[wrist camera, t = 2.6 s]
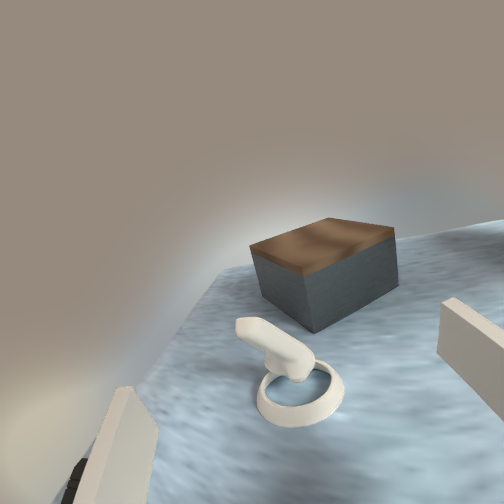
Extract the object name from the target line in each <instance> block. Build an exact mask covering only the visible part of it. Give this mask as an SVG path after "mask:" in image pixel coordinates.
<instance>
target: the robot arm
mask: <svg viewBox="0 0 504 504" xmlns="http://www.w3.org/2000/svg"><path fill="white" fill-rule="evenodd" d="M437 354H438V355H439V356H440V357H441V358H442V359H443V360H444V361H445V362H446V363H447V364H448V365H449V366H450V367H451V368H452V369H453V370H454V371H455V372H456V373H457V374H458V375H459V376H460V377H461V378H462V379H463V380H464V381H465V382H466V383H467V384H468V385H469V386H470V387H471V388H472V389H473V390H474V391H475V392H476V393H477V394H478V395H479V396H480V397H481V398H482V399H483V400H484V401H485V402H486V403H487V405H488V406H489V407H490V408H491V409H492V410H493V411H494V412H495V413H496V414H497V415H498V416H499V417H500V418H501V420H502V421H503V422H504V331H503V330H502V329H500V328H499V327H498V326H496V325H495V324H493V323H492V322H490V321H489V320H488V319H486V318H485V317H483V316H482V315H480V314H479V313H477V312H476V311H474V310H473V309H471V308H470V307H468V306H467V305H465V304H464V303H462V302H461V301H459V300H458V299H456V298H454V297H453V298H451V299H448V300H446V301H444V302H442V303H441V315H440V327H439V337H438V346H437ZM159 430H160V429H159V427H158V426H157V424H156V423H155V421H154V420H153V418H152V417H151V415H150V414H149V412H148V410H147V409H146V407H145V405H144V404H143V402H142V401H141V399H140V397H139V396H138V394H137V392H136V390H135V389H134V387H133V386H125V387H117V389H116V391H115V393H114V396H113V398H112V401H111V403H110V406H109V408H108V410H107V413H106V415H105V417H104V420H103V422H102V425H101V427H100V430H99V432H98V435H97V437H96V440H95V442H94V445H93V448H92V450H91V453H90V456H89V458H88V459H86V458H82V459H81V460H80V461H79V462H78V463H77V465H76V466H75V467H74V469H73V472H72V474H71V477H70V479H71V480H69V482H68V485H67V489H66V490H65V493H64V496H63V499H62V502H61V504H146V501H147V494H148V489H149V483H150V477H151V471H152V466H153V461H154V455H155V450H156V445H157V440H158V435H159Z"/></svg>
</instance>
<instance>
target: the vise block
mask: <svg viewBox="0 0 504 504" xmlns="http://www.w3.org/2000/svg"><path fill="white" fill-rule="evenodd" d="M250 250H251V254H252V258H253V262H254V266H255V269H256V273H257V277H258V281H259V285H260V289H261V292H262V296H263V297H265V298H266V299H267V300H269V301H270V302H271V303H273V304H274V305H275V306H277V307H278V308H279V309H281V310H282V311H284V312H285V313H286V314H288V315H289V316H290V317H292V318H293V319H294V320H296V321H297V322H299V323H300V324H301V325H303V326H304V327H306V328H307V329H308V330H310V331H311V332H312V333H314V334H315V333H317V332H319V331H320V330H322V329H324V328H326V327H328V326H330V325H332V324H334V323H335V322H337V321H339V320H341V319H343V318H344V317H346V316H348V315H350V314H352V313H353V312H355V311H357V310H359V309H360V308H362V307H364V306H366V305H367V304H369V303H371V302H372V301H374V300H376V299H377V298H379V297H381V296H382V295H384V294H386V293H387V292H389V291H390V290H392V289H394V288H395V287H397V286H398V268H397V254H396V243H395V233H394V228H393V227H388V226H381V225H375V224H369V223H362V222H355V221H348V220H341V219H334V218H326V219H323V220H321V221H318V222H315V223H312V224H309V225H306V226H303V227H300V228H298V229H295V230H292V231H289V232H286V233H284V234H281V235H278V236H275V237H272V238H270V239H266V240H264V241H261V242H258V243H255V244H252V245H250Z"/></svg>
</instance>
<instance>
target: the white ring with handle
mask: <svg viewBox="0 0 504 504" xmlns="http://www.w3.org/2000/svg"><path fill="white" fill-rule="evenodd" d="M235 333H236V335H237V336H238V338H239V339H241V340H243V341H244V342H246V343H248V344H250V345H252V346H254V347H256V348H258V349H260V350H262V351H264V352H266V354H265V358H264V363H265V366H266V368H267V369H268V370H269V372H268V373H267V374H266V376H265V377H264V378H263V380H262V382H261V384H260V387H259V390H258V395H257V407H258V410H259V412H260V413H261V415H262V416H263V417H264V418H265V419H266V420H268V421H269V422H271V423H273V424H275V425H279V426H283V427H304V426H308V425H312V424H315V423H317V422H319V421H322V420H323V419H325V418H326V417H328V416H330V415H331V414H332V413H333V412H334V411H335V410H336V409H337V408H338V406H339V405H340V404H341V401H342V399H343V397H344V391H345V390H344V384H343V382H342V379H341V378H340V376H339V375H338V374H337V372H336V371H335V370H334V369H333V368H332V367H331V366H329V365H328V364H327V363H325V362H323V361H321V360H317V359H315V356H314V354H313V352H312V351H311V350H310V349H309V348H307V346H306V345H305V344H303V343H301V342H300V341H298V340H297V339H295V338H293V337H292V336H290V335H288V334H287V333H285V332H284V331H282V330H280V329H279V328H277V327H276V326H274V325H272V324H271V323H269V322H268V321H266V320H264V319H262V318H260V317H242V318H238V319H236V321H235ZM312 369H319V370H323V371H325V372H328V373H329V374H330V375H331V383H330V386H329V388H328V390H327V391H326V392H325V393H324V394H323V395H322V396H321V397H320V398H318V399H317V400H315V401H313V402H311V403H308V404H305V405H301V406H294V407H290V406H282V405H278V404H276V403H274V402H272V401H271V400H270V399H269V398H268V397H267V395H266V393H265V388H266V387H267V386H268V385H269V384H270V383H271V382H272V381H273V380H274V379H276V378H277V377H279V376H281V375H282V376H287V378H288V379H291V381H292V382H294V383H301V382H303V381H304V380H305V379H306V378H307V377H308V375H309V374H310V372H311V371H312Z"/></svg>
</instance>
